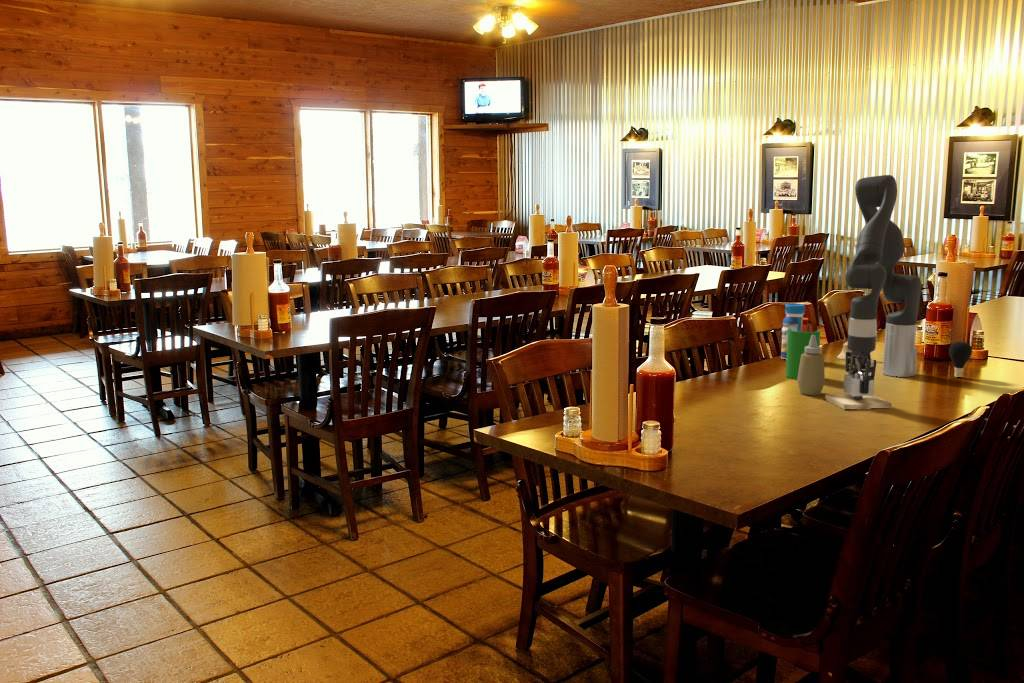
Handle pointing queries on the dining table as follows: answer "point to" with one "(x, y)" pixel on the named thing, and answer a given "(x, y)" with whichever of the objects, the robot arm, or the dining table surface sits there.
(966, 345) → the light bulb
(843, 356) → the hand bell
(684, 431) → the dining table surface
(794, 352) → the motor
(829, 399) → the stand
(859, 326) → the robot arm
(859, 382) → the collar
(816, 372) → the squeeze bottle
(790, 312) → the beverage bottle
